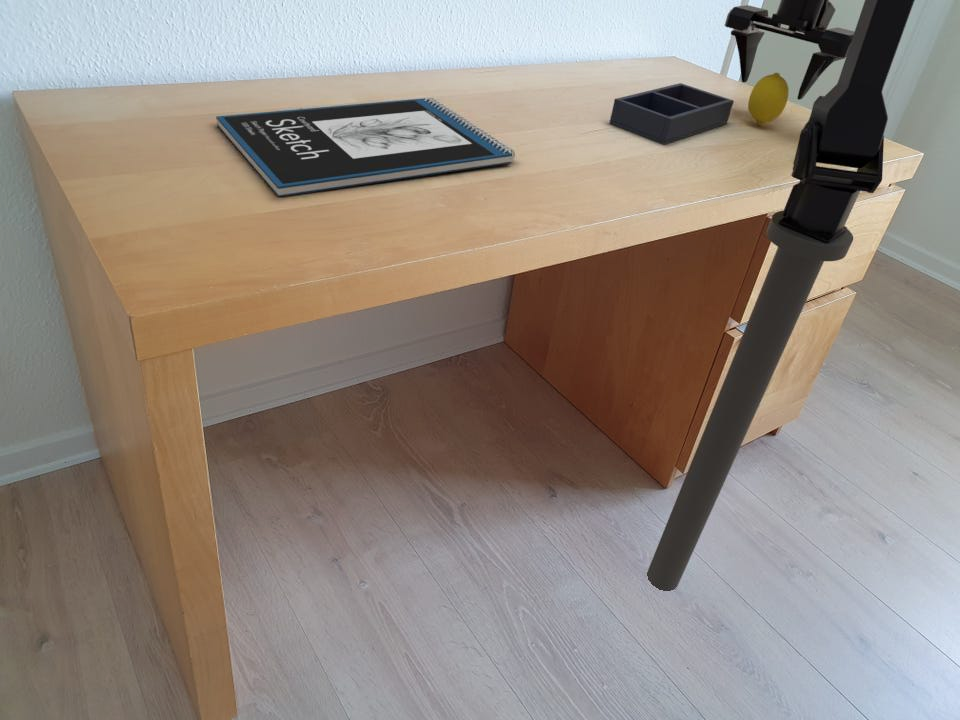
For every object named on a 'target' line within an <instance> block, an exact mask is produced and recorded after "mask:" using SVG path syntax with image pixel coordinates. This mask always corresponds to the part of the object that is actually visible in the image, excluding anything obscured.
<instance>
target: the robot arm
mask: <svg viewBox="0 0 960 720" xmlns="http://www.w3.org/2000/svg"><path fill="white" fill-rule="evenodd" d="M914 3H915V0H864V1H863V5H862V8H861V10H860V14H859V17H858V20H857V23H856V27H855V28H854V30H850V29H846V28H842V27H839V26H838V27H832V28H828V27H829V25H830V23H831V21H832V19H833V17H834V15H835V13H836V8H835V7H834V5H833V4H832V2H831V1H830V0H780V2H779V5H778V8H777V11H776V13H772V15H771V16H769V10H768V9H766V8H760V7H757V6H753V5H749V4H746V5H737V6H734V7H732V8H731V9H730V10H729V12H728V13H727V15H726V18H725V21H724V27H725V28H727V29H733V30H730V35H731V36H733V37H734V38H735V42H736V48H737V51H738V58H739V67H740V68H739V69H740V75H741V76H740V77H741V78H740V79H741V83H747V82H748V80H749V77H750V75H751V72H752V68H753V65H754V62H755V59H756V54H757V50H758V46H759V44H760V43H761V40H762V39H763V37H764V35H765V31H767V32H770V33H773V34H776V35H777V34H778V35H782V36H785V37H789V38H793V39H795V40H796V39H797V40H800V41H804V42H809V43H811V44H816V45H817V46H818V48H819V51H818V52H813V53H812V55H811V58H810V60H809V63H808V66H807V68H806V70H805V74H804V76H803V79H802V81H801V85H800V86H799V90H798V94H797V100H799V101H800V100H803V99H804V97H805V96H806V95H807V93H808V92H809V91H810V89H811V88H812V87H813V86H814V84H815V83H816V82H817V81H818V79H819V78H820V76H821V75H823V73H824V72H825V71H826V69H828V67H830V66H831V64H833V63H834V62H838V61H841V60H844V62H843V66H842V68H841V71H840V74H839V77H838V80H837V83H836V84H835V85H834V86H833V87H832V88H831V89H830V90H829V91H828V92H827V93H826V94H825V95H819V96H818V97H817V98H816V99H815V100H814V101H813V103H812V109H811V112H810V116H809V118H808V120H807V122H806V123H805V125H804V126H803V129H802V130H801V131H800V133H799V137H798V143H797V147H796V151H795V155H794V159H793V166H792V172H791V177H792V178H793V179H796V180H799V182H797V183H796V184H793V186H792V188H791V191H790V193H789V196H788V198H787V201H786V203H785V206H784V208H783V210H784V211H783V210H782V211H783V213H782V214H783V216H785V217H784V218H782V219H780V220H779V223H778V224H779V225H781V226H784V227H786V228H789V229H791V230H794V231H796V232H798V233H801V234H803V235H806V236H808V237H811V238H813V239H815V240H818V241H820V242H823V243H826V244H828V243H830V242H831V241H833V240H834V239H836V238H837V237H839V236H840V235H842V234H843V233H845V232H846V230H847V229H848V227H847V226H846V224H847V221H848V219H849V217H850V215H851V212H852V211H853V208H854V206H855V204H856V201H857V199H858V197H859V196H860V193H861V192H866V193H868V194H874V193H875V191H876V190H877V188H878V187H879V186H880V184H881V183H882V181H883V168H884V149H885V148H884V147H885V146H884V143H885V131H886V128H887V124H888V120H889V116H888V112H887V108H886V104H885V98H884V94H883V90H884V86H885V84H886V81H887V79H888V75H889V73H890V70H891V67H892V64H893V62H894V58H895V56H896V53H897V50H898V48H899V45H900V42H901V39H902V37H903V34H904V31H905V29H906V25H907V23H908V20H909V17H910V14H911V12H912V9H913V6H914ZM782 25H785V26H788V27H782ZM760 30H761V31H760ZM762 30H763V31H762ZM817 164H824V165H831V166H838V167H846V168H852V169H857V170H856V171H855V170H848V169H840V168H834V167H827V166H819V165H817Z"/></svg>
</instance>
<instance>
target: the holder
mask: <svg viewBox="0 0 960 720" xmlns="http://www.w3.org/2000/svg"><path fill="white" fill-rule="evenodd" d="M734 102H735V100H733V99H731V98H728V97H725V96H723V95H722V96H721V95H718V94H715V93H712V92H710V91H706V90H703V89H700V88H696V87H694V86H691V85H687V84H684V83H681V82H680V83H675V84H671V85H666V86H662V87H659V88H654V89H651V90H647V91H642V92H638V93H634V94H630V95H626V96H622V97H617V98H615V99H614V102H613V106H612V110H611V115H610V119H609V124H610V125H611V126H614V127H616V128H620V129H623V130H625V131H628V132H630V133H634V134H635V135H638V136H641V137H643V138H646V139H649V140H652V141H654V142H657V143H659V144H661V145H668V144H670V143H673V142H676V141H679V140H683V139H686V138H689V137H691V136H694V135H697V134H700V133H704V132H706V131H710V130H712V129H715V128H718V127H721V126H724V125H727V124H728V121H729V118H730V114H731V111H732V109H733V105H734Z"/></svg>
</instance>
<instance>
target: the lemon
mask: <svg viewBox="0 0 960 720" xmlns="http://www.w3.org/2000/svg"><path fill="white" fill-rule="evenodd" d="M789 89H790V88H789V84H788V83H787V81H786V79H785V78H784V77H782V76H781V74H780V73H779V72H774V73H772V74H768V75H765V76H763V77H761V78H760V79H758V80H757V82H756V83H755V85H754V86H753V88H752V90H751V92H750V95H749V98H748V103H747V107H748V108H747V109H748V113H749V115H750V117H751V118H752V119H754V120H755V122H756V125H757V126H762V125H764V124H766V123H769V122H772V121H774V120H776V119H777V118H779V117H780V116H781V114H782V113H783V111H784V109H785V108H786V106H787V103H788V99H789V91H790V90H789Z"/></svg>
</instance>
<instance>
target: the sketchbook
mask: <svg viewBox="0 0 960 720" xmlns="http://www.w3.org/2000/svg"><path fill="white" fill-rule="evenodd" d="M215 118H216V119H215V120H216V126H217V127H218V128H219V129H220V131H221V132H222V133H223V134H224V135H225V136H226V137H227V139H228V140H229V141H230V142H231V143H232V144H233V146H234V147H235V148H236V149H237V150H238V151H239V153H240V154H241V155H242V156H243V157H244V158H245V160H246V161H247V162H248V163H249V164H250V166H251V167H252V168H253V169H254V170H255V171H256V173H258V174H259V176H260V177H261V178H262V180H263V181H264V182H265V183H266V184H267V185H268V186H269V187H270V189H271V190H272V191H273V192H274V193H275V195H276V196H277V197H278V198H282V197H288V196H295V195H301V194H307V193H308V194H309V193H315V192H322V191H329V190H336V189H342V188H349V187H356V186H363V185H371V184H379V183H383V182H384V183H385V182H390V181H398V180H405V179H411V178H419V177H425V176H432V175H438V174H446V173H452V172H458V171H459V172H461V171H465V170H467V171H468V170H472V169H479V168H480V169H481V168H487V167H493V166H501V165H508V164H512V162H513V161H514V159H515V157H516V151H515V150H514V149H513V147H510V146H508V145H507V144H506V143H504V142H503V141H501V140H499V139H498V138H496V137H494V136H493V135H492V134H490V133H488V132H487V131H485V130H484V129H482V128H481V127H479V126H478V125H476V124H474V123H473V122H472V121H470V120H468V119H467V118H465V117H463V116H462V115H461V114H459V113H457V112H456V111H454V110H453V109H451V108H450V107H448V106H447V105H445V104H444V103H442V102H441V101H439V100H437V99H436V98H434V97H433V96H427V97H424V98H423V97H422V98H411V99H400V100H391V101H390V100H389V101H377V102H367V103H356V104H355V103H354V104H343V105H332V106H330V105H329V106H321V107H320V106H319V107H307V108H296V109H286V110H285V109H284V110H273V111H262V112H261V111H260V112H251V113H250V112H249V113H239V114H231V115H229V114H228V115H217V116H215Z"/></svg>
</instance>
